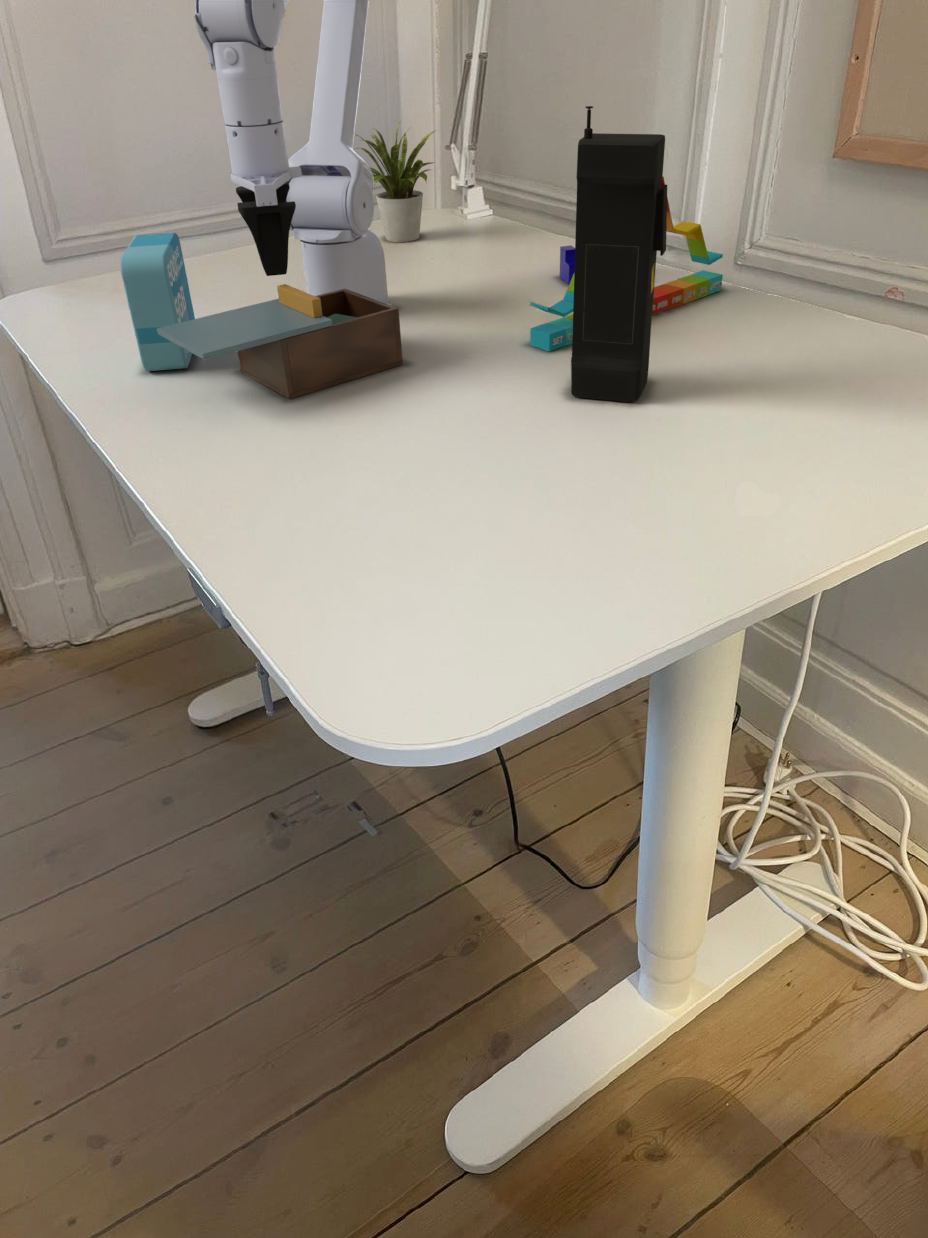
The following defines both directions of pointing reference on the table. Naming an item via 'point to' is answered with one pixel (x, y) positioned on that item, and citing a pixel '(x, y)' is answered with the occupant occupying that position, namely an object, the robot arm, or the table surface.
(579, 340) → the portable radio
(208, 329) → the sliding box lid
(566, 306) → the chart
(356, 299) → the case
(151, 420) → the table surface
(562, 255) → the cable holder
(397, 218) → the house plant
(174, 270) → the data package
